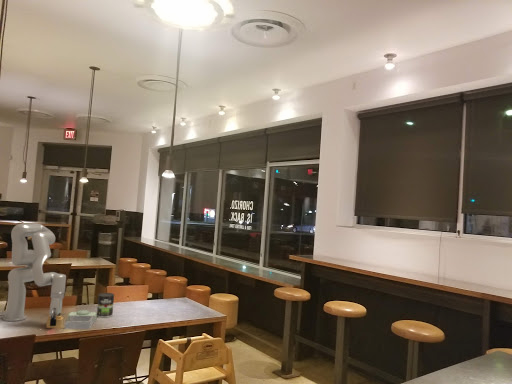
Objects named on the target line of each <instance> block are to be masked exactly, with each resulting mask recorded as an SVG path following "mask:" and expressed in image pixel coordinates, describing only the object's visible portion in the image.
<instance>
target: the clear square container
mask: <svg viewBox="0 0 512 384" xmlns="http://www.w3.org/2000/svg"><path fill="white" fill-rule="evenodd" d="M93 324H94V316H74V315H70V321H67V320H66V321H65V320H64V329H66V330H67V329H68V330H69V329H70V330H71V329H74V330H75V329H78V330H79V329H80V330H81V329H85V330H90V329H91V327H92V326H93Z"/></svg>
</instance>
